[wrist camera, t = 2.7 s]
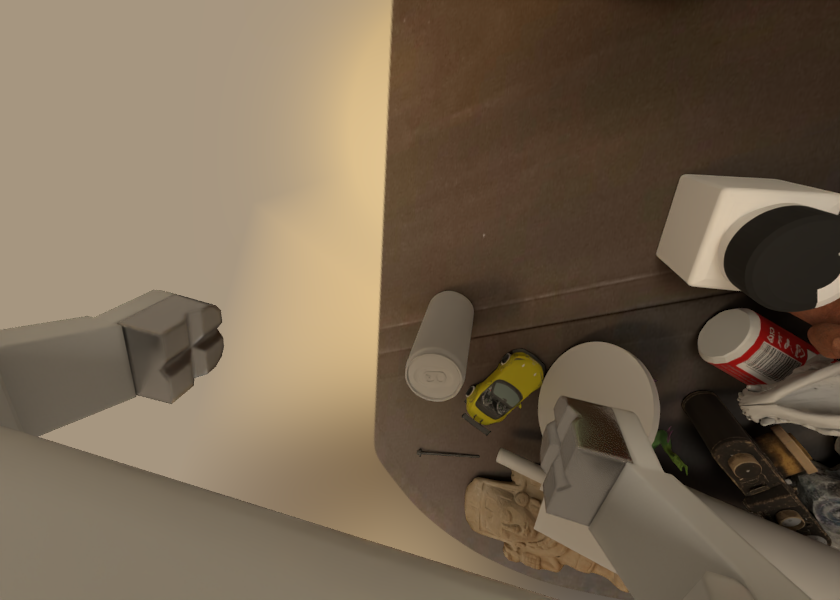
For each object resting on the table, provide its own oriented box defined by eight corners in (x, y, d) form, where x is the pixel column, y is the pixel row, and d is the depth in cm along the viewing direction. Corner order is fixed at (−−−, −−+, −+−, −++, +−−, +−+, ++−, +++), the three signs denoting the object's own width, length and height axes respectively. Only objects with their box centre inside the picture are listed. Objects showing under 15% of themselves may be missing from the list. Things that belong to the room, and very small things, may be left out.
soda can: (688, 327, 37) (790, 387, 38) (699, 371, 33) (812, 436, 34) (745, 293, 33) (857, 360, 34) (764, 339, 29) (890, 413, 30)
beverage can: (427, 288, 40) (399, 351, 29) (473, 287, 39) (463, 352, 28) (430, 329, 42) (406, 401, 31) (475, 329, 41) (466, 404, 30)
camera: (820, 476, 40) (888, 553, 33) (752, 498, 43) (801, 573, 36) (739, 370, 37) (795, 431, 30) (671, 402, 40) (707, 464, 33)
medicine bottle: (653, 256, 34) (721, 318, 24) (679, 173, 31) (771, 202, 21) (741, 263, 33) (854, 332, 23) (778, 178, 30) (928, 212, 20)
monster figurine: (632, 504, 29) (704, 515, 33) (670, 352, 30) (735, 382, 35) (525, 444, 40) (590, 458, 44) (556, 334, 41) (616, 358, 45)
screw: (417, 447, 50) (417, 453, 50) (416, 451, 49) (416, 458, 49) (479, 450, 49) (479, 457, 49) (479, 455, 48) (479, 462, 48)
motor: (501, 469, 49) (472, 520, 40) (521, 398, 46) (496, 435, 37) (810, 622, 36) (870, 748, 27) (861, 535, 33) (947, 641, 24)
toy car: (553, 369, 41) (557, 385, 38) (491, 422, 45) (491, 441, 42) (516, 341, 41) (518, 355, 38) (457, 398, 45) (455, 414, 42)
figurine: (640, 623, 40) (454, 568, 46) (625, 573, 47) (465, 531, 53) (653, 507, 39) (462, 466, 45) (636, 473, 46) (472, 441, 52)
